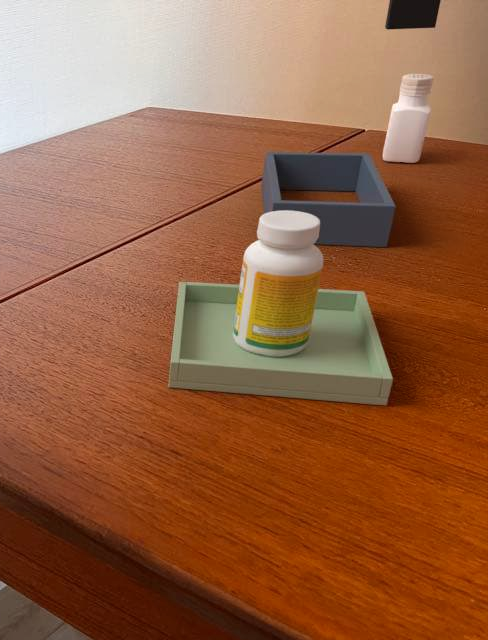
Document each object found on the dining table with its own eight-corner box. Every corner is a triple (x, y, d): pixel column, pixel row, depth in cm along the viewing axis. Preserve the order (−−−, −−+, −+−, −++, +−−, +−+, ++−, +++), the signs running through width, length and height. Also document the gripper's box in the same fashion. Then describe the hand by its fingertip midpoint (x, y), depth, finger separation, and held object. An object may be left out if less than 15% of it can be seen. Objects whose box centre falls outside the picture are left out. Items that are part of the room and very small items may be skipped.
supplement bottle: (217, 334, 66) (232, 213, 61) (275, 321, 67) (294, 202, 62) (263, 365, 62) (282, 237, 57) (324, 349, 63) (348, 224, 58)
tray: (359, 315, 69) (364, 291, 68) (386, 406, 57) (393, 378, 56) (177, 304, 72) (179, 281, 71) (168, 387, 61) (170, 361, 60)
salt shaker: (418, 155, 104) (437, 73, 99) (418, 164, 101) (438, 80, 96) (382, 153, 106) (399, 72, 101) (381, 162, 103) (398, 79, 98)
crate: (362, 189, 95) (369, 153, 93) (386, 247, 80) (396, 206, 78) (260, 187, 97) (265, 151, 95) (267, 242, 83) (273, 202, 81)
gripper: (358, -349, 59) (313, -9, 70) (439, -459, 39) (357, 46, 50) (480, -366, 57) (414, -14, 68) (633, -491, 37) (503, 41, 48)
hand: (390, 12), depth 59 cm, fingers open, 13 cm apart
